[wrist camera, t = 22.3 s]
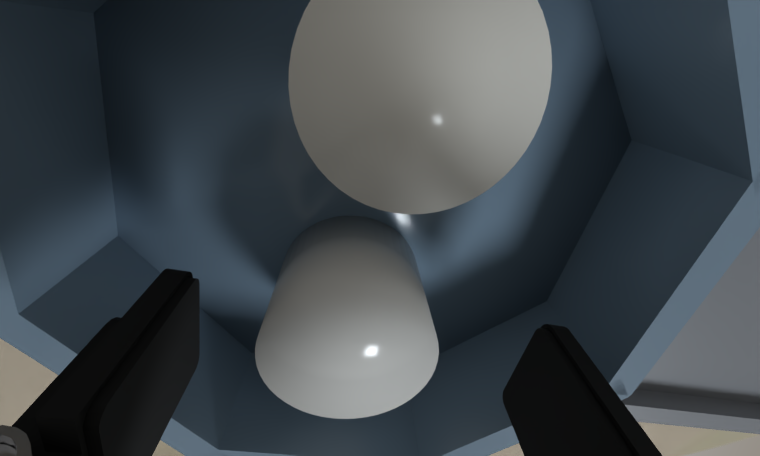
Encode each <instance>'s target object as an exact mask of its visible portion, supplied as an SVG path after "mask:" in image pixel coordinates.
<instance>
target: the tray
mask: <svg viewBox="0 0 760 456" xmlns="http://www.w3.org/2000/svg"><path fill="white" fill-rule="evenodd" d="M621 401H622V402H623V403H624V405H625V406H626V407H627V409H628V410H629V411H630V413H631V414H632V415H633V417H634V418H635V419H636V421H637V422H647V423H657V424H666V425H676V426H686V427H696V428H706V429H715V430H725V431H735V432H745V433H754V434H760V227H759V229H758V230H757V231H756V233H755V234H754V235H753V236H752V238H751V239H750V240H749V242H748V243H747V244H746V246H745V247H744V248H743V250H742V251H741V252H740V254H739V255H738V256H737V257H736V259H735V260H734V261H733V263H732V264H731V265H730V267H729V268H728V269H727V271H726V272H725V273H724V274H723V276H722V277H721V278H720V280H719V281H718V282H717V284H716V285H715V286H714V288H713V289H712V290H711V291H710V293H709V294H708V295H707V297H706V298H705V299H704V301H703V302H702V303H701V305H700V306H699V307H698V308H697V310H696V311H695V312H694V314H693V315H692V316H691V318H690V319H689V320H688V322H687V323H686V324H685V326H684V327H683V328H682V329H681V331H680V332H679V333H678V335H677V336H676V337H675V339H674V340H673V341H672V343H671V344H670V345H669V346H668V348H667V349H666V350H665V352H664V353H663V354H662V356H661V357H660V358H659V360H658V361H657V362H656V363H655V365H654V366H653V367H652V369H651V370H650V371H649V373H648V374H647V375H646V377H645V378H644V379H643V380H642V382H641V383H640V384H639V386H638V387H637V388H636V390H635V391H634V392H633V394H632V395H631V396H629V397H628V398H626V399H623V400H621Z"/></svg>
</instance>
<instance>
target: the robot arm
mask: <svg viewBox="0 0 760 456" xmlns="http://www.w3.org/2000/svg"><path fill="white" fill-rule="evenodd" d="M199 356H200V284H199V279H197V278H193V275H192V273H191V272H189V271H182V270H175V269H169V268H167V269H165V270H163V271H162V272H161V274H160V275H159V276H158V277H157V278H156V279H155V280H154V282H153V283H152V284H151V285H150V286H149V287H148V288H147V289H146V291H145V292H144V293H143V294H142V295H141V296H140V297H139V299H138V300H137V301H136V302H135V303H134V304H133V305H132V307H131V308H130V309H129V310H128V311H127V312H126V313H125V314H124V316H123V317H122V318H120V317H115V318H113V319H111V320H110V321H109V322H107V323H106V324H105V325H104V326H103V327H102V329H101V330H100V331H99V332H98V333H97V334H96V335H95V336H94V337H93V338H92V339H91V340H90V342H89V343H88V344H87V345H86V346H85V347H84V348H83V349H82V350H81V351H80V352H79V354H78V355H77V356H76V357H75V358H74V359H73V360H72V361H71V362H70V363H69V364H68V366H67V367H66V368H65V369H64V370H63V371H62V372H61V373H60V374H59V375H58V376H57V378H56V379H55V380H54V381H53V382H52V383H51V384H50V385H49V386H48V387H47V388H46V390H45V391H44V392H43V393H42V394H41V395H40V396H39V397H38V398H37V399H36V400H35V402H34V403H33V404H32V405H31V406H30V407H29V408H28V409H27V410H26V411H25V412H24V413H23V415H22V416H21V417H20V418H19V419H18V420H17V421H16V422H15V423H14V424H13V425H12V427H11V426H5V425H0V456H152V455H153V453H154V451H155V449H156V447H157V445H158V443H159V441H160V439H161V437H162V435H163V433H164V431H165V429H166V427H167V425H168V423H169V421H170V419H171V417H172V415H173V413H174V411H175V409H176V407H177V406H178V404H179V402H180V400H181V398H182V396H183V394H184V392H185V390H186V388H187V386H188V384H189V382H190V380H191V378H192V376H193V374H194V372H195V370H196V368H197V365H198V362H199ZM503 403H504V406H505V409H506V411H507V414H508V416H509V419H510V421H511V423H512V426H513V428H514V431H515V433H516V436H517V438H518V441H519V443H520V446H521V448H522V451H523V453H524V456H662V455H661V453H660V452H659V451H658V449H657V448H656V447H655V445H654V444H653V442H652V441H651V440H650V438H649V437H648V436H647V434H646V433H645V432H644V430H643V429H642V428H641V426H640V425H639V424H638V422H637V421H636V419H635V418H634V417H633V415H632V414H631V413H630V411H629V410H628V409H627V407H626V406H625V405H624V403H623V402H622V401H621V399H620V398H619V397H618V395H617V394H616V392H615V391H614V390H613V388H612V387H611V386H610V384H609V383H608V382H607V380H606V379H605V378H604V376H603V375H602V374H601V372H600V371H599V369H598V368H597V367H596V365H595V364H594V363H593V361H592V360H591V359H590V357H589V356H588V355H587V353H586V352H585V351H584V349H583V348H582V346H581V345H580V344H579V342H578V341H577V340H576V338H575V337H574V336H573V334H572V333H571V332H570V330H569V329H568V328H567V327H564V326H558V325H551V324H544V325H542V326H541V328H538V329H536V331H535V332H534V334H533V336H532V338H531V340H530V342H529V343H528V345H527V347H526V349H525V351H524V353H523V355H522V356H521V358H520V360H519V362H518V364H517V366H516V368H515V370H514V371H513V373H512V375H511V377H510V379H509V381H508V383H507V385H506V386H505V388H504V391H503Z"/></svg>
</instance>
